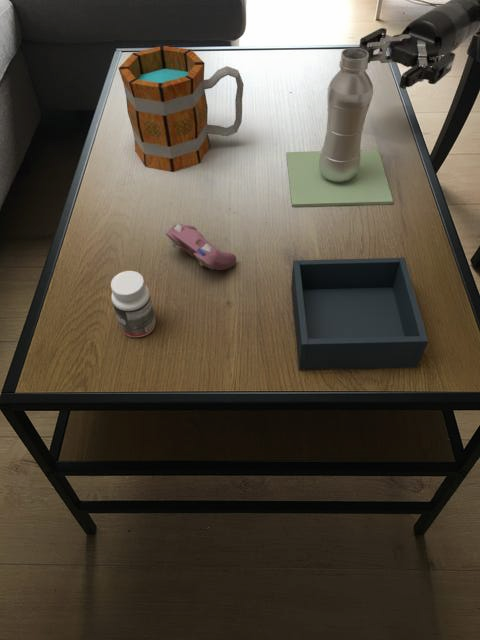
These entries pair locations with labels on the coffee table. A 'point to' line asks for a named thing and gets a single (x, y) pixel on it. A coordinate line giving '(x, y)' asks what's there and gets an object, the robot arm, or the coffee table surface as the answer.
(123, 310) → the pill bottle
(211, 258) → the pink curved plastic piece
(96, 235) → the coffee table surface
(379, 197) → the mat
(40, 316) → the coffee table surface
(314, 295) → the bin
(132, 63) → the mug
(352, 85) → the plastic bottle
